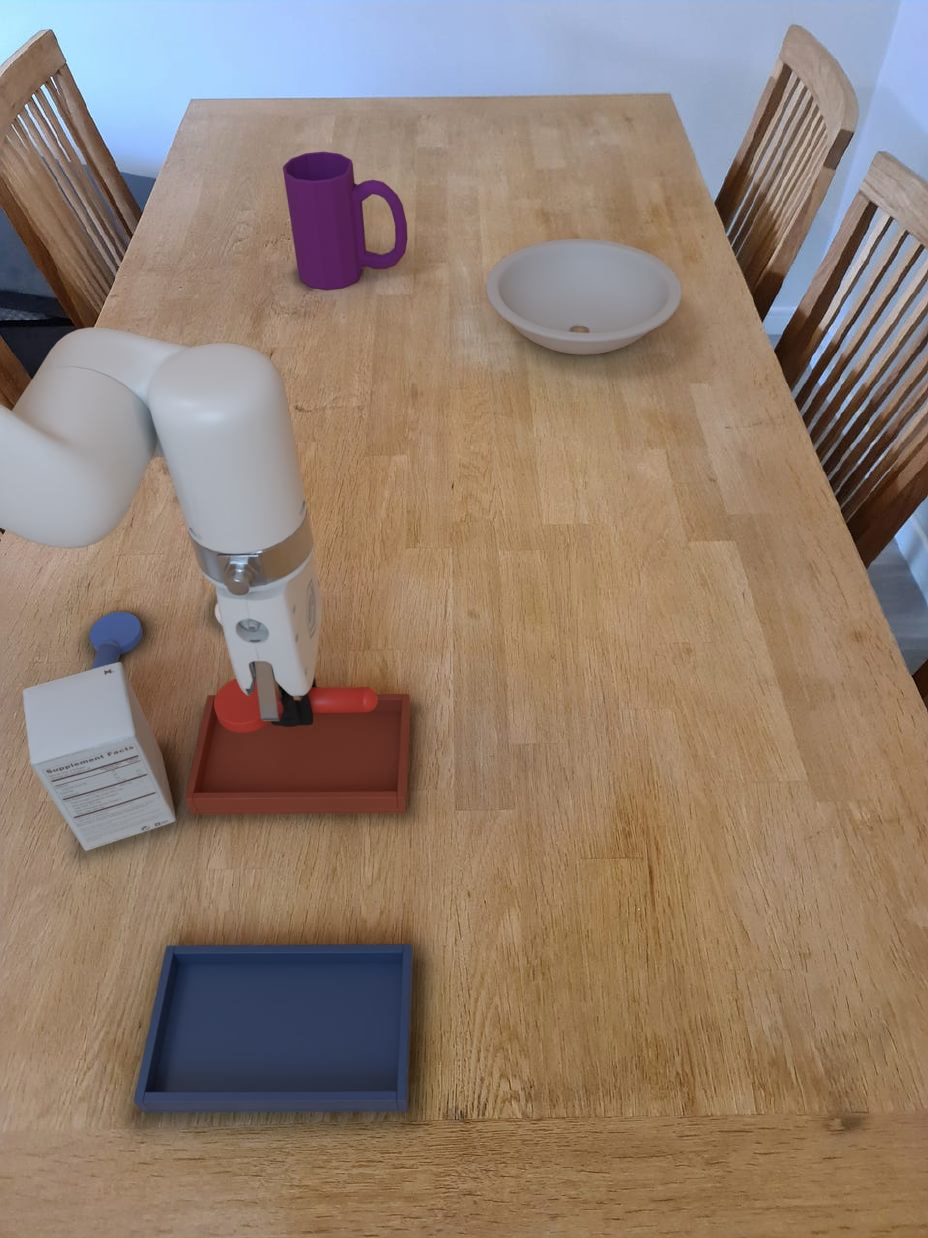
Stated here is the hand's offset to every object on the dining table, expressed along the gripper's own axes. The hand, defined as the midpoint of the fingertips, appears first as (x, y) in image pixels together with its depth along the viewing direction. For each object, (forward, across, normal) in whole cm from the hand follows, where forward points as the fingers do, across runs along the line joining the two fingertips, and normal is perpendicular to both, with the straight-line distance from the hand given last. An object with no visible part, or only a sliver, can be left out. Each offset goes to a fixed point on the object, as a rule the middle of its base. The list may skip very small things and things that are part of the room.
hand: (294, 707), depth 75 cm
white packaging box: (+8, -4, +14) cm, 17 cm away
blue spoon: (+8, +10, +19) cm, 23 cm away
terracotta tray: (+8, 0, 0) cm, 8 cm away
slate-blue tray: (+8, -22, -1) cm, 23 cm away
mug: (+8, +80, +2) cm, 80 cm away
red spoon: (0, 0, 0) cm, 0 cm away
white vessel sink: (+8, +65, -28) cm, 71 cm away
